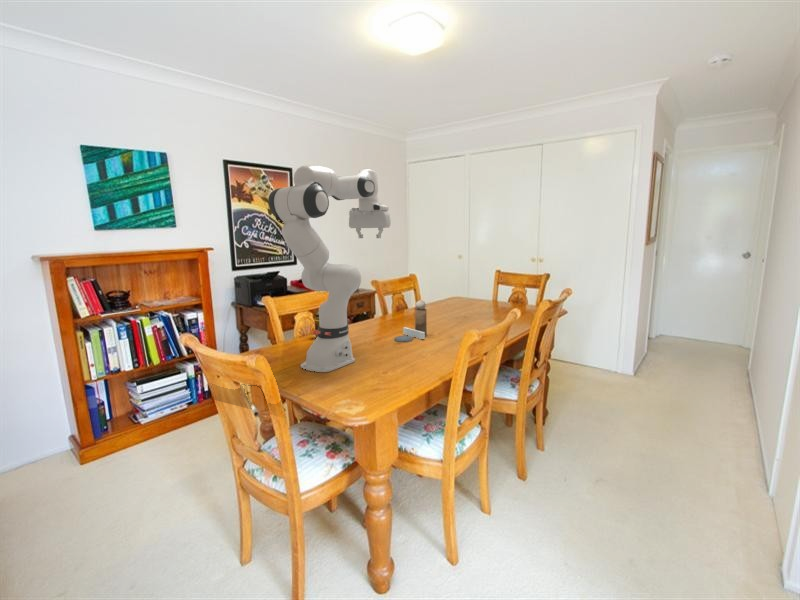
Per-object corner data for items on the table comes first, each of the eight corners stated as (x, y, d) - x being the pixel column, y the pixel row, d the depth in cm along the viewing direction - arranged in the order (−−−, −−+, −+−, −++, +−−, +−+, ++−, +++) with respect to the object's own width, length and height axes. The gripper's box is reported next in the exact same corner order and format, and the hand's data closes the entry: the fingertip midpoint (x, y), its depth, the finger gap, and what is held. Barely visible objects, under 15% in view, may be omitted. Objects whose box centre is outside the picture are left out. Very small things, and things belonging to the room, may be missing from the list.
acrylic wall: (424, 339, 188) (424, 332, 187) (423, 340, 187) (423, 332, 187) (405, 333, 198) (404, 327, 198) (403, 334, 198) (403, 327, 197)
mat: (408, 343, 183) (408, 341, 183) (391, 340, 187) (391, 339, 187) (416, 338, 191) (416, 336, 191) (399, 336, 195) (399, 334, 195)
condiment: (311, 338, 194) (310, 314, 192) (324, 334, 201) (322, 311, 199) (322, 340, 190) (320, 316, 188) (334, 336, 197) (333, 312, 195)
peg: (423, 337, 192) (423, 301, 189) (413, 335, 195) (412, 300, 192) (428, 334, 197) (428, 299, 194) (418, 333, 200) (417, 298, 197)
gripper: (345, 207, 180) (346, 238, 183) (385, 206, 171) (385, 238, 174) (353, 208, 186) (354, 238, 188) (391, 206, 177) (392, 238, 179)
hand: (369, 238), depth 181 cm, fingers open, 8 cm apart
